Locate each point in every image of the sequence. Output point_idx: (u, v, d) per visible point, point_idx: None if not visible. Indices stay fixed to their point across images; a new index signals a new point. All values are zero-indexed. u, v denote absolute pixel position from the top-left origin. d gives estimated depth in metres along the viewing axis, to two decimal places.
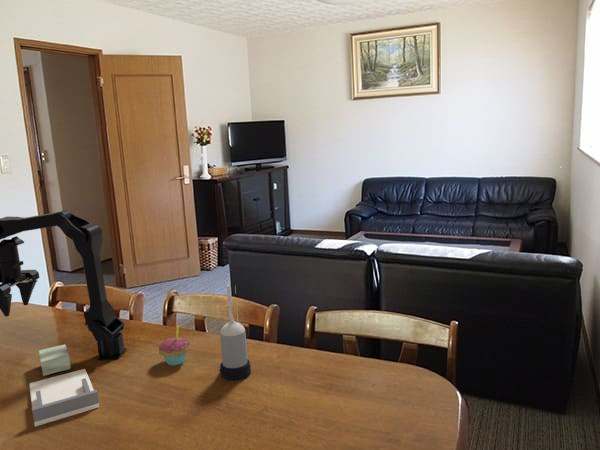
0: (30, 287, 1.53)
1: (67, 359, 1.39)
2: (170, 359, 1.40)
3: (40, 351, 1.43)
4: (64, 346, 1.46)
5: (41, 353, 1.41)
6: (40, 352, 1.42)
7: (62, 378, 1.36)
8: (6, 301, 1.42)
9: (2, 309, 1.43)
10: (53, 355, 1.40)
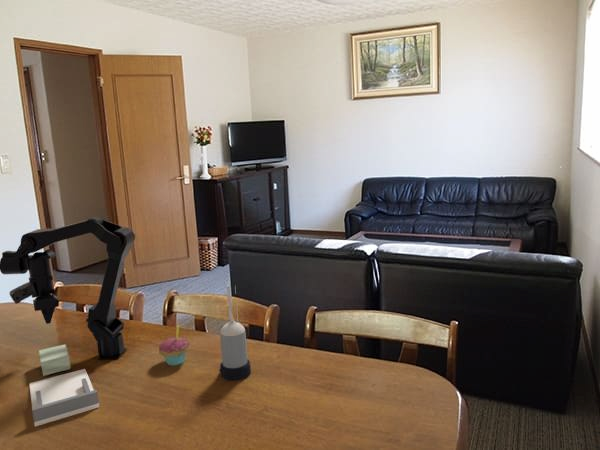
0: None
1: (67, 359, 1.39)
2: (170, 359, 1.40)
3: (40, 351, 1.43)
4: (64, 346, 1.46)
5: (41, 353, 1.41)
6: (40, 352, 1.42)
7: (62, 378, 1.36)
8: None
9: (46, 316, 1.47)
10: (53, 355, 1.40)
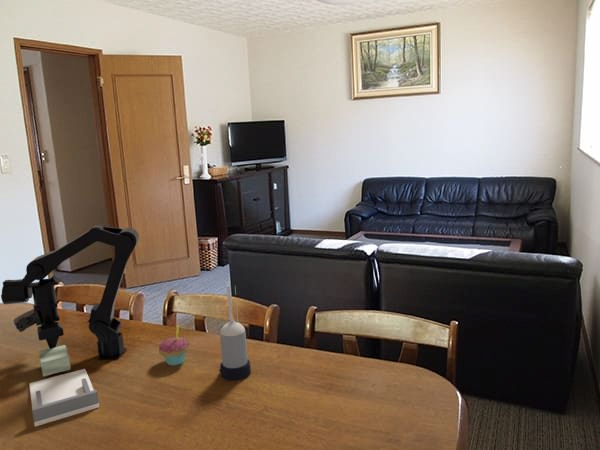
0: None
1: (67, 360, 1.39)
2: (170, 359, 1.40)
3: (40, 352, 1.42)
4: (64, 347, 1.45)
5: (41, 354, 1.41)
6: (40, 353, 1.42)
7: (62, 378, 1.36)
8: None
9: (50, 344, 1.44)
10: (53, 356, 1.39)
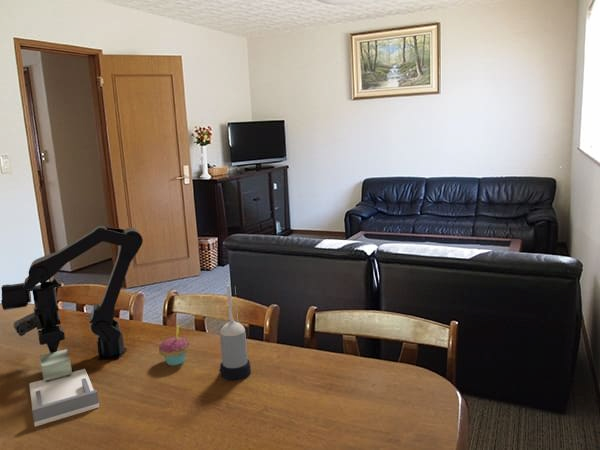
0: None
1: (68, 364, 1.36)
2: (170, 359, 1.40)
3: (41, 356, 1.39)
4: (65, 351, 1.42)
5: (42, 358, 1.38)
6: (41, 357, 1.39)
7: (62, 378, 1.36)
8: None
9: (51, 348, 1.41)
10: (54, 360, 1.36)
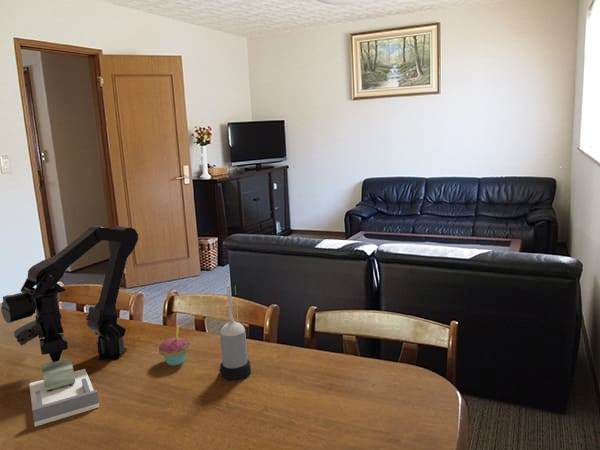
0: None
1: (71, 372, 1.30)
2: (170, 359, 1.40)
3: (43, 365, 1.33)
4: (68, 360, 1.36)
5: (44, 367, 1.32)
6: (43, 366, 1.33)
7: None
8: None
9: (53, 357, 1.35)
10: (56, 368, 1.30)
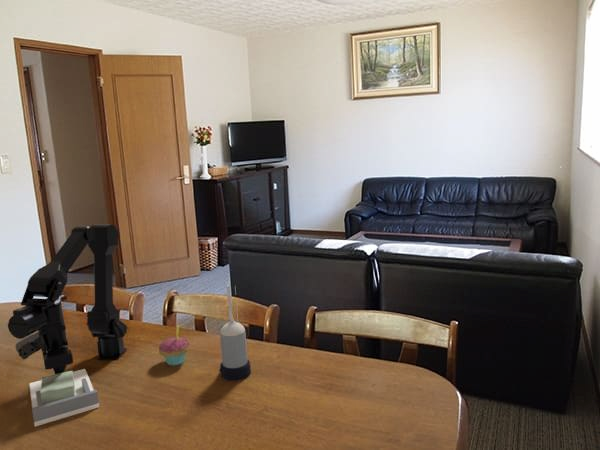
0: None
1: (71, 390, 1.20)
2: (170, 359, 1.40)
3: (43, 378, 1.24)
4: (70, 373, 1.27)
5: (44, 382, 1.23)
6: (43, 380, 1.24)
7: None
8: None
9: (57, 372, 1.27)
10: (55, 385, 1.21)
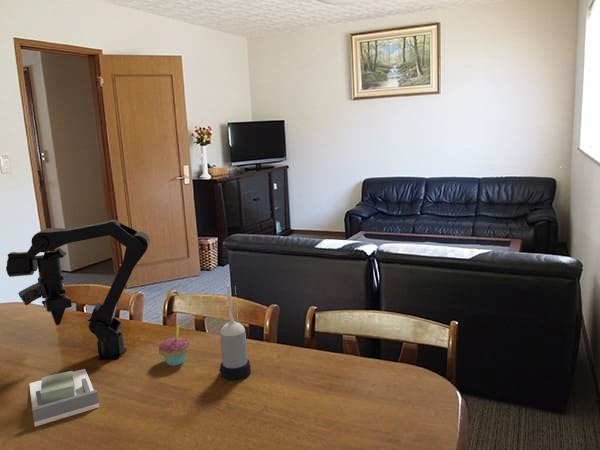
0: None
1: (71, 390, 1.20)
2: (170, 359, 1.40)
3: (43, 378, 1.24)
4: (70, 373, 1.27)
5: (44, 382, 1.23)
6: (43, 380, 1.24)
7: None
8: None
9: (55, 318, 1.43)
10: (55, 385, 1.21)
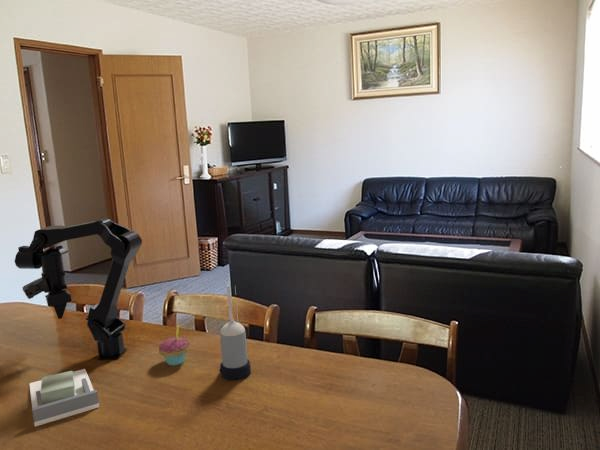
0: None
1: (71, 390, 1.20)
2: (170, 359, 1.40)
3: (43, 378, 1.24)
4: (70, 373, 1.27)
5: (44, 382, 1.23)
6: (43, 380, 1.24)
7: None
8: (65, 302, 1.49)
9: (58, 312, 1.49)
10: (55, 385, 1.21)
